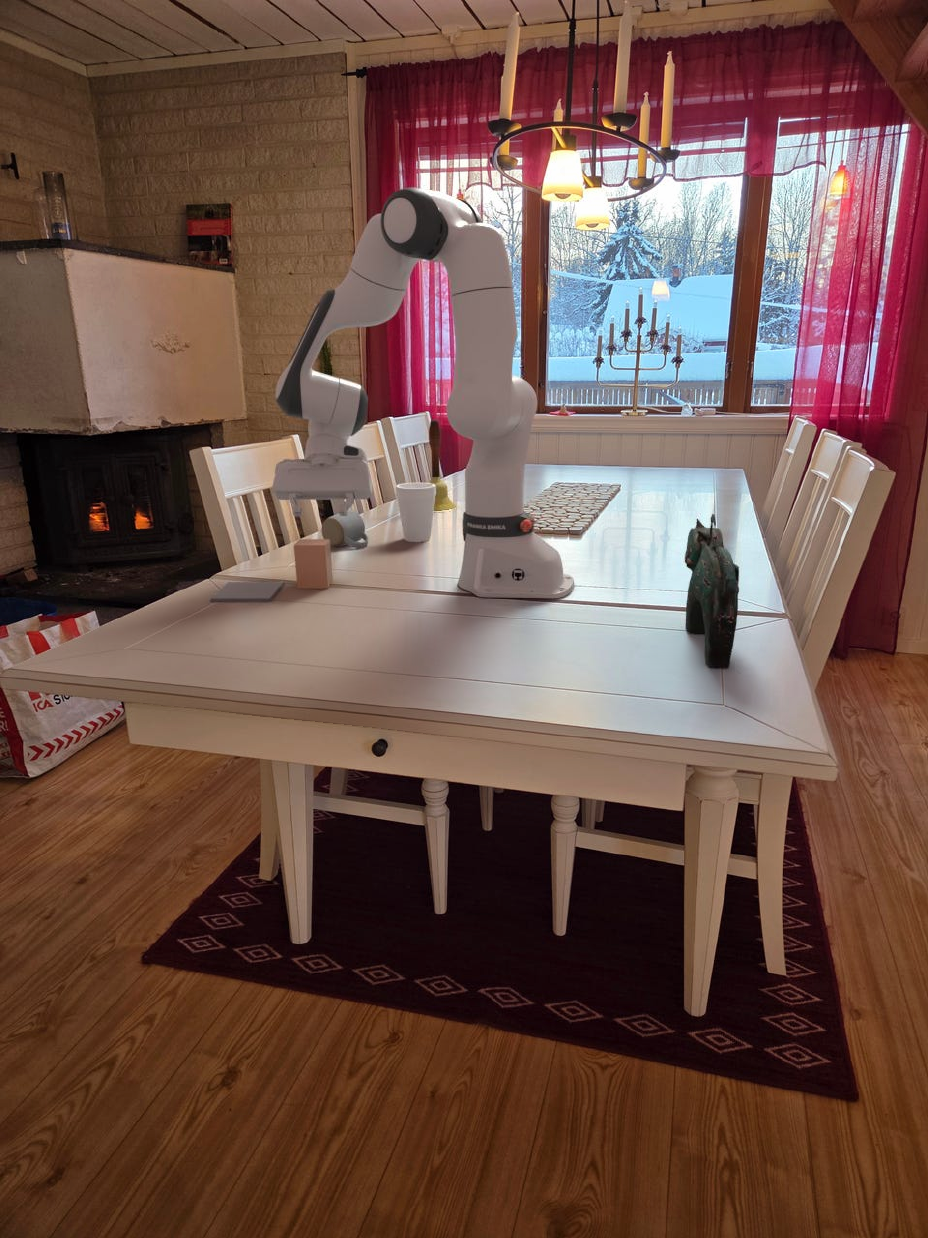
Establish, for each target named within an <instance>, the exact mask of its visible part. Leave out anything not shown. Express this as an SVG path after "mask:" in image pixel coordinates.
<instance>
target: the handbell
mask: <svg viewBox="0 0 928 1238" xmlns="http://www.w3.org/2000/svg"><path fill="white" fill-rule="evenodd" d="M440 427H441V426H440V422H439V420H438V419H431V420H430V423H429V430H428V443H429V446H430V450H431V452H430V453H431V479H430V481H428V482H427V483H431V484H435V485H436V495H435V502H434V511H442V510H449V509H453V508H455V507H456V506H457V504H455V503H454V502H453V501H452V500H451V499H450V497H449V496H448V495H449V494H448V492H449V491H448V490H449V489H448V485H447V484H446V483H445V482H444V481H443V480H442V479H441V477H440V448H441V443H442V436H441V433H442V432H441V428H440Z"/></svg>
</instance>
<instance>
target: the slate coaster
mask: <svg viewBox="0 0 928 1238" xmlns="http://www.w3.org/2000/svg"><path fill="white" fill-rule="evenodd" d="M284 586H285V581H232V582H231V581H228V582H227V583H226V584H225V585H223V586H222V587H221V588H220V590H218V591H217V592H216V593H215V594H214V595H212V596H211V597H210V598H209V599H210V602H213V603H214V602H217V603H218V602H222V603H223V602H225V603H227V602H235V603H236V602H271V601H272V600H273V598H274V597H275V596H276V595H277V594H278V592H279V591H281V589H282V588H283V587H284Z"/></svg>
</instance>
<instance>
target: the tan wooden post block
mask: <svg viewBox="0 0 928 1238" xmlns="http://www.w3.org/2000/svg"><path fill="white" fill-rule="evenodd" d="M293 554H294V565H295V566H294V568H295V579H296V589H298V590H299V589H300V590H302V589H303V590H304V589H305V590H309V589H311V590H315V589H316V590H317V589H319V590H320V589H321V590H324V589H326V590H327V589H330V586H331V585H332V583H333V582H334V581H333V579H334V578H333V567H332V566H333V565H332V550H331V545H330V539H324V538H323V539H320V538H319V539H318V538H317V539H314V538H313V539H311V538H310V539H308V538H306V539H304V538H303V539H302V538H301V539H298V541H296V542H295V543H294V545H293ZM332 581H333V582H332ZM330 584H331V585H330Z"/></svg>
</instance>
